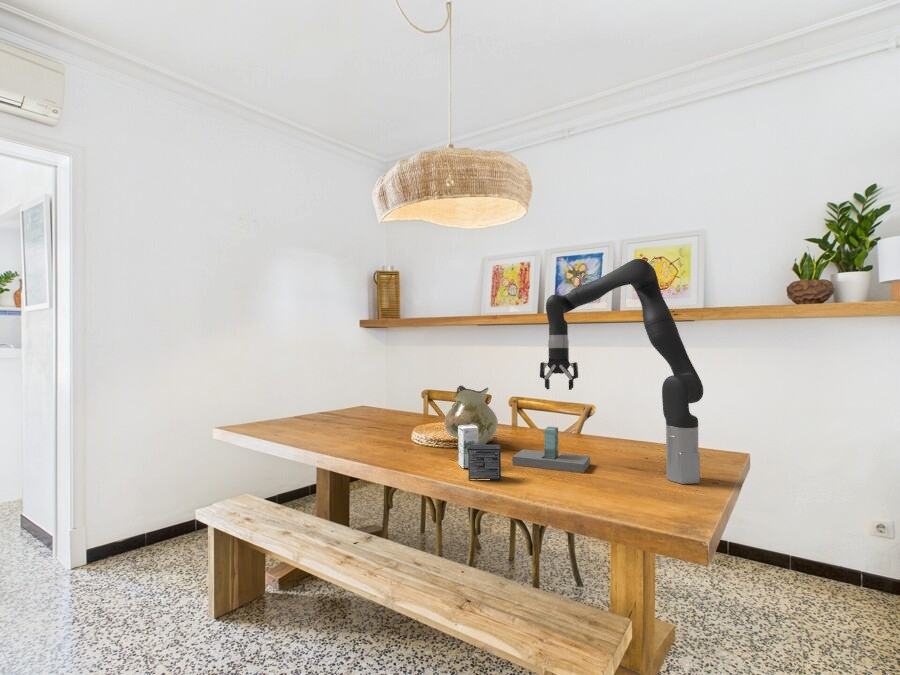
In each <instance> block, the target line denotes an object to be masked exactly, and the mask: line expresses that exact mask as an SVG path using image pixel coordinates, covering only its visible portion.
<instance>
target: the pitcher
mask: <svg viewBox="0 0 900 675" xmlns="http://www.w3.org/2000/svg"><path fill="white" fill-rule="evenodd" d="M488 391H489V387H486V388H484V389H482V390H480V391H479V390H478V391H477V390H475V389H471V388H466V387H464V385H459V386H458V387H457V388H456V393H455V397H454V398H455V401H454V403H453V404H452V405H451V408H450V409H449V411H448V412H447V413H446V416H445V418H444V429H445V431H446V433H447V434H448V436H449V435H450V436H453V437H457V438H458V426H459V425H475V426H477V427H478V445H487V443H488V441H489V440H491V439H492V437H493V436H494V435H495V433H496V431H497V429H498V418H497V415H496V413H495V411H493V409H492V408H491V407H490V406H489V405H488V404H487V402H486V401H485V397H486V394H487V392H488ZM450 436H449V437H450Z"/></svg>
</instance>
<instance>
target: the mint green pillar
mask: <svg viewBox="0 0 900 675" xmlns="http://www.w3.org/2000/svg"><path fill="white" fill-rule="evenodd" d="M543 432H544V433H543V435H544V436H543V440H544V441H543V445H544V448H543V449H544V450H543V451H544V459H554V460H556V459H557V458H558V457H559V426H550V425H549V426H547V427H546V428H544V430H543Z"/></svg>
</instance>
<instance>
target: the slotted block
mask: <svg viewBox="0 0 900 675" xmlns="http://www.w3.org/2000/svg"><path fill="white" fill-rule="evenodd" d="M511 459H512V461H511V462H512V466H517V465H520V466H519V467H526V466H528V467H527V468H534V467H536V468H535V469H545V470H553V471H562V472H568V473H569V472H571V473H578V474H579V473H580V474H585V472H586V471H587V470H588V468H589V467H590V465H591V456H590V455H584V454H575V453H572V454H571V453H563V452H561V454H560V455H558V458H557V459H556V460H554V459H544V450H542V451H541V450H533V449H525V448H524V449H521V450H520V451H518V452H516V453H515V454H514V455H513V456H512V458H511Z"/></svg>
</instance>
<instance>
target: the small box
mask: <svg viewBox="0 0 900 675" xmlns="http://www.w3.org/2000/svg"><path fill="white" fill-rule="evenodd" d="M501 460H502V458H501V444H486V445H469V446H468V467H469V468H468V477H467V478H468V479H490V480H501V481H502V462H501Z"/></svg>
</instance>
